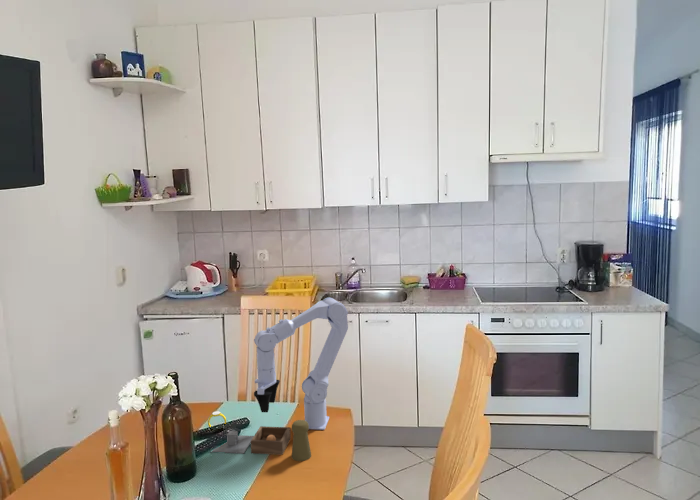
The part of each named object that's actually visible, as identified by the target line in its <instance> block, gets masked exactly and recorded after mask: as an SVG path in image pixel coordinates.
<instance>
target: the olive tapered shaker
mask: <svg viewBox="0 0 700 500" xmlns="http://www.w3.org/2000/svg"><path fill="white" fill-rule="evenodd" d="M309 430H310V429H309V425H308V423H307V421H305V419H298V420H295V421H294V422H292V424H291V431H292V433H293V434H292V435H293V438H292V449H291V459H292V460H293V461H297V462H304V461H308V460H310V459H311V457H312V452H311V451H312V449H311V444H310V441H309V433H308V432H309Z"/></svg>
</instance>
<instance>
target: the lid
mask: <svg viewBox="0 0 700 500" xmlns="http://www.w3.org/2000/svg"><path fill="white" fill-rule="evenodd" d="M226 435H227V442H226V443H224V444H223V445H221V446H220V447H218V448H216V449H214V450H213V451H212V452H225V453H224V454H237V455H238V454H239V455H243V454H246V453H245V452H246V451H247V449H248V448H249V447H250V446H251V440H252V438H253V437H254V435H243V434H242V435H241V434H239V433H238V431H237V430H229V431H228V433H227V434H226ZM238 435H239V436H238ZM212 452H211V453H212Z"/></svg>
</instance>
